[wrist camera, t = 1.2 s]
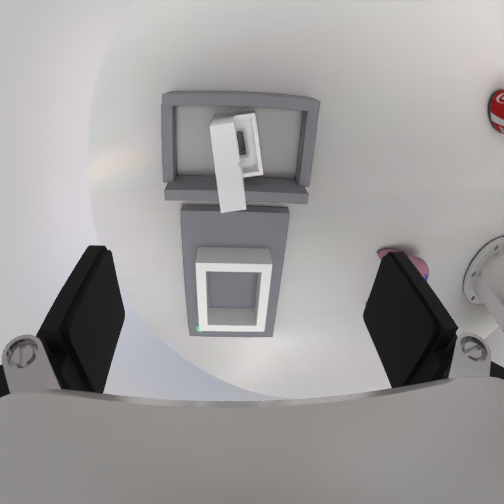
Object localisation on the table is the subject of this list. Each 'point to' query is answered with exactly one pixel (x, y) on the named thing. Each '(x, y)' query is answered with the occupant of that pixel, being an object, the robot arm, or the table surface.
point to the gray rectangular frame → (253, 186)
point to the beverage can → (497, 110)
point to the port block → (232, 268)
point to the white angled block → (234, 156)
